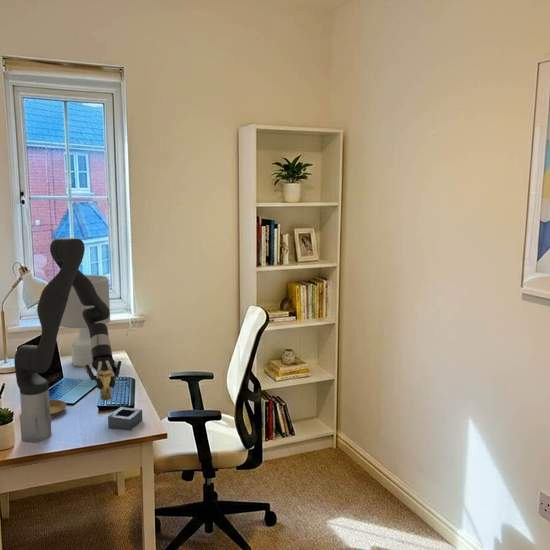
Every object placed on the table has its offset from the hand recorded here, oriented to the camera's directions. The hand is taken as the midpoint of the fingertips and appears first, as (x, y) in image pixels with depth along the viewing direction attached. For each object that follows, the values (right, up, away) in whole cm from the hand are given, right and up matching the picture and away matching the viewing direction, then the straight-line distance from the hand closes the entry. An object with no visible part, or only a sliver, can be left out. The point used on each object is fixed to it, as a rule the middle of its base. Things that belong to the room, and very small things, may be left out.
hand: (106, 387), depth 203 cm
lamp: (-31, -1, +67) cm, 73 cm away
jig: (+8, -13, -2) cm, 16 cm away
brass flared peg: (-1, -5, +2) cm, 5 cm away
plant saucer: (-26, -12, +7) cm, 29 cm away
